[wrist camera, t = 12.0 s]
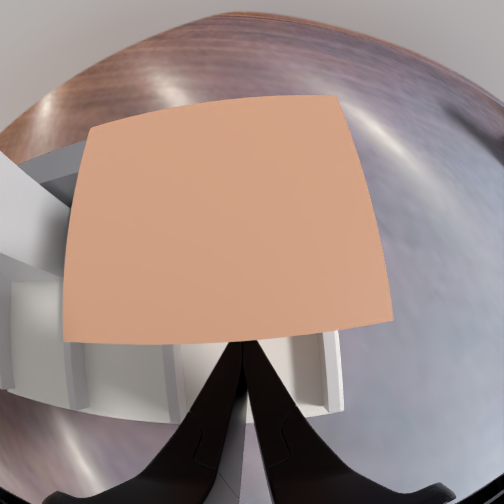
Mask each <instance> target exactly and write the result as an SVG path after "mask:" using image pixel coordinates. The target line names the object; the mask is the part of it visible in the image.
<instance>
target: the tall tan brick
mask: <svg viewBox="0 0 504 504" xmlns="http://www.w3.org/2000/svg"><path fill="white" fill-rule="evenodd" d="M393 320H394V318H393V310H392V303H391V296H390V289H389V283H388V277H387V271H386V266H385V260H384V255H383V250H382V245H381V240H380V236H379V231H378V227H377V223H376V218H375V214H374V210H373V206H372V202H371V198H370V195H369V191H368V187H367V184H366V180H365V177H364V174H363V170H362V167H361V164H360V160H359V157H358V154H357V151H356V148H355V145H354V142H353V139H352V136H351V133H350V130H349V128H348V125H347V122H346V119H345V117H344V114H343V111H342V109H341V106H340V104H339V101H338V99H337V96H332V95H287V96H265V97H250V98H239V99H229V100H220V101H212V102H205V103H198V104H192V105H186V106H180V107H174V108H169V109H164V110H159V111H154V112H149V113H145V114H141V115H136V116H132V117H128V118H124V119H121V120H117V121H113V122H110V123H106V124H103V125H99V126H96V127H93V128H90V131H89V135H88V138H87V142H86V145H85V149H84V153H83V157H82V160H81V165H80V169H79V173H78V178H77V182H76V187H75V192H74V197H73V203H72V209H71V215H70V221H69V229H68V236H67V245H66V255H65V267H64V283H63V341H66V342H80V343H98V344H131V345H168V344H202V343H221V342H237V341H250V340H262V339H272V338H282V337H291V336H299V335H308V334H315V333H322V332H329V331H336V330H343V329H349V328H355V327H361V326H367V325H372V324H378V323H383V322H388V321H393Z"/></svg>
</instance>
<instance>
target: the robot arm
mask: <svg viewBox="0 0 504 504" xmlns="http://www.w3.org/2000/svg"><path fill="white" fill-rule="evenodd" d="M248 397H249V402H250V407H251V412H252V416H253V421H254V426H255V431H256V435H257V440H258V444H259V449H260V454H261V458H262V462H263V467H264V471H265V476H266V480H267V484H268V488H269V493H270V497H271V501H272V504H446V503H448V502H450V501H452V500H454V499H455V498H456V495H455V494H454V493H453V492H452V491H451V490H450V489H449V488H447V487H446V486H444V485H443V484H442V483H435V484H433V485H430V486H428V487H426V488H423V489H421V490H419V491H416V492H413V493H406V494H404V493H398V492H395V491H392V490H390V489H388V488H386V487H384V486H382V485H380V484H378V483H376V482H374V481H372V480H370V479H368V478H366V477H364V476H362V475H360V474H359V473H357V472H355V471H354V470H352V469H351V468H350V467H348V466H347V465H346V464H345V463H344V462H343V461H342V460H341V459H340V458H339V457H338V456H337V455H336V454H335V453H334V452H333V451H332V450H331V449H330V447H329V446H328V445H327V444H326V443H325V442H324V441H323V440H322V439H321V438H320V436H319V435H318V434H317V433H316V432H315V430H314V429H313V428H312V427H311V426H310V424H309V423H308V421H307V420H306V418H305V417H304V416H303V414H302V413H301V411H300V409H299V408H298V406H296V403H295V402H294V400H293V399H292V397H291V395H290V394H289V392H288V390H287V389H286V387H285V386H284V384H283V382H282V381H281V379H280V377H279V376H278V374H277V372H276V371H275V369H274V368H273V366H272V364H271V363H270V361H269V359H268V358H267V356H266V354H265V352H264V351H263V349H262V347H261V346H260V344H259V342H258V341H257V340H250V341H237V342H228V344H227V346H226V348H225V349H224V351H223V353H222V355H221V356H220V358H219V360H218V362H217V363H216V365H215V367H214V369H213V370H212V372H211V374H210V375H209V377H208V379H207V381H206V382H205V384H204V386H203V387H202V389H201V391H200V393H199V394H198V396H197V398H196V399H195V401H194V403H193V404H192V406H191V408H190V409H189V411H190V412H188V413H187V414H186V416H185V418H184V419H183V421H182V422H181V424H180V426H179V427H178V429H177V430H176V432H175V433H174V434H173V436H172V437H171V438H170V439H169V441H168V442H167V443H166V444H165V446H164V447H163V448H162V449H161V451H160V452H159V453H158V454H157V455H156V457H155V458H154V459H153V460H152V461H151V462H150V464H149V465H148V466H147V467H146V468H145V469H144V470H143V471H142V472H141V473H140V474H138V475H137V476H136V477H134V478H132V479H130V480H128V481H126V482H124V483H122V484H120V485H118V486H115V487H113V488H111V489H109V490H106V491H104V492H102V493H99V494H97V495H95V496H92V497H87V498H77V497H73V496H70V495H68V494H65V493H63V492H60V491H56V492H54V493H53V494H51V495H49V496H48V497H47V498H45V500H44V501H43V502H42V504H239V498H240V486H241V475H242V463H243V451H244V439H245V427H246V414H247V402H248ZM0 504H31V503H29V502H27V501H25V500H23V499H22V498H20V497H18V496H16V495H14V494H12V493H10V492H9V491H7V490H5V489H4V488H2V487H0ZM455 504H504V473H503V474H502V475H500V476H499V477H497V478H496V479H494V480H493V481H491V482H490V483H488V484H487V485H485V486H484V487H482V488H481V489H479V490H477V491H476V492H474V493H473V494H471V495H469V496H468V497H466V498H464V499H463V500H461V501H459V502H457V503H455Z"/></svg>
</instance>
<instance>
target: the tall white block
mask: <svg viewBox="0 0 504 504" xmlns="http://www.w3.org/2000/svg"><path fill="white" fill-rule="evenodd" d="M70 214H71V209H70V208H69V207H67V206H66V205H65V204H63V203H62V202H61V201H60V200H58V199H57V198H56V197H54V196H53V195H52V194H51V193H49V192H48V191H47V190H46V189H44V188H43V187H42V186H41V185H39V184H38V183H37V182H36V181H35V180H33V179H32V178H31V177H30V176H28V175H27V174H26V173H25V172H24V171H23V170H21V169H20V168H19V167H18V166H17V165H15V164H14V163H13V162H12V161H11V160H10V159H9V158H7V157H6V156H5V155H4V154H3V153H2V152H1V151H0V277H1V278H4V279H7V280H10V281H13V282H25V281H40V280H55V279H64V265H65V253H66V244H67V235H68V228H69V221H70Z"/></svg>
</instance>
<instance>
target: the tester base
mask: <svg viewBox="0 0 504 504" xmlns="http://www.w3.org/2000/svg"><path fill="white" fill-rule="evenodd" d="M86 142H87V140H84V141H81V142H78V143H75V144H72V145H69V146H66V147H63V148H60V149H57V150H54V151H52V152H49V153H46V154H44V155H41V156H38V157H36V158H33V159H31V160H28V161H26V162H24V163H21V164H19V165H17V166H18V167H19V168H20V169H21V170H23V171H24V172H25V173H26V174H27V175H28V176H30V177H31V178H32V179H33V180H35V181H36V182H37V183H38V184H39V185H41V186H42V187H43V188H44V189H46V190H47V191H48V192H49V193H51V194H52V195H53V196H54V197H56V198H57V199H58V200H60V201H61V202H62V203H63V204H65V205H66V206H67V207H69V208H70V209H72V203H73V197H74V192H75V187H76V182H77V178H78V173H79V169H80V165H81V160H82V157H83V153H84V149H85V145H86ZM70 215H71V214H70ZM68 229H69V228H68ZM67 236H68V235H67ZM66 245H67V244H66ZM65 255H66V253H65ZM64 267H65V265H64ZM63 283H64V279H55V280H40V281H25V282H13V281H10V280H7V279H4V278H1V277H0V389H2V390H4V389H7V390H8V392H10V393H13V394H16V395H19V396H22V397H25V398H28V399H32V400H35V401H38V402H42V403H46V404H49V405H53V406H57V407H61V408H65V409H70V410H74V411H79V412H84V413H89V414H95V415H100V416H107V417H113V418H120V419H128V420H136V421H146V422H158V423H174V424H181V422H182V421H183V419H184V418H185V416H186V414H187V413H188V412H190V411H189V409H190V408H191V406H192V404H193V403H194V401H195V399H196V398H197V396H198V394H199V393H200V391H201V389H202V387H203V386H204V384H205V382H206V381H207V379H208V377H209V375H210V374H211V372H212V370H213V369H214V367H215V365H216V363H217V362H218V360H219V358H220V356H221V355H222V353H223V351H224V349H225V348H226V346H227V344H228V342H221V343H202V344H168V345H131V344H98V343H80V342H66V341H63ZM257 341H258V342H259V344H260V346H261V347H262V349H263V351H264V352H265V354H266V356H267V358H268V359H269V361H270V363H271V364H272V366H273V368H274V369H275V371H276V372H277V374H278V376H279V377H280V379H281V381H282V382H283V384H284V386H285V387H286V389H287V390H288V392H289V394H290V395H291V397H292V399H293V400H294V402H295V403H296V406H298V408H299V409H300V411H301V413H302V414H303V416H304V417H311V416H318V415H324V414H329V413H335V412H340V411H344V400H343V383H342V369H341V357H340V346H339V336H338V330H336V331H329V332H322V333H315V334H308V335H299V336H291V337H282V338H272V339H262V340H257ZM246 423H254V421H253V416H252V412H251V407H250V402H249V397H248V402H247V414H246Z"/></svg>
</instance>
